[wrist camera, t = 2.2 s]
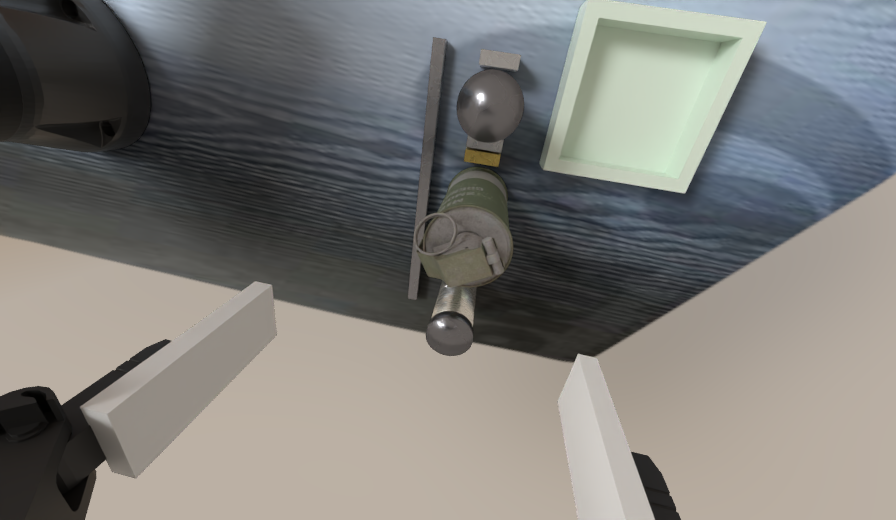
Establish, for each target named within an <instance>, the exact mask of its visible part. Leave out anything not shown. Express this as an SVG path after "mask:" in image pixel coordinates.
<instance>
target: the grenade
mask: <svg viewBox="0 0 896 520" xmlns="http://www.w3.org/2000/svg"><path fill="white" fill-rule="evenodd" d="M507 201H508V192H507V188H506V185H505V183H504V181H503V180H502V178H501V177H500V176H499V175H498V174H497V173H495V172H494V171H492V170H490V169H488V168H484V167H471V168H467V169H465V170H463V171H461V172H459V173H458V174H457V175H456V176H455V177H454V178H453V179H452V181H451V182H450V184H449V187H448V190H447V194H446V196H445V198H444V200H443V202H442V204H441V206H440V208H439V210H438V212H437V213H433V214H430V215H428V216H426V217H425V218H424V219H422V220H421V221H420V223H419V224H418V225H417V227H416V229H415V233H414V243H415V246H416V248H417V254H418V256H419V258H420V260H421V263H422V265H423V267H424V269H425V271H426V273H427V275H428V276H429V277H433V278H438V279H442V280H443V281H444V282H445V283H446V284H447V286H448V287H455V286H460V287H479V286H483V285H486V284H489V283H491V282H493V281H494V280H496V279H497V278H498V277H500V276H501V275H502V274H503V273H504V271H505V270H506V269H507V267H508V266H509V264H510V262H511V259H512V255H513V239H512V235H511V232H510V230H509V219H508V209H507ZM431 218H433V219H432V220H431V222H430V223H429V225H428V226H427V228H426V231H425V234H424V236H423V238H422V240H421V242H420V244H419V246H418V240H417V238H418V233H419V230H420V228H421V227H422V225H423V224H424V223H425V222H426V221H428V220H429V219H431Z"/></svg>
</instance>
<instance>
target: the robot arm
mask: <svg viewBox="0 0 896 520" xmlns="http://www.w3.org/2000/svg"><path fill="white" fill-rule="evenodd" d="M150 106H151V101H150V90H149V84H148V80H147V76H146V72H145V69H144V66H143V64H142V61H141V59H140V56H139V54H138V52H137V50H136V48H135V46H134V44H133V42H132V40H131V39H130V37H129V35H128V34H127V32H126V31H125V29H124V28H123V26H122V25H121V23H120V22H119V21H118V19H117V18H116V17H115V15H114V14H113V13H112V12H111V11H110V10H109V8H108V7H107V6H106V5H105V4H104V3H103V2H102V1H101V0H0V142H4V141H9V142H16V143H23V144H30V145H37V146H44V147H51V148H59V149H66V150H73V151H80V152H100V151H107V150H114V149H120V148H124V147H127V146H129V145H131V144H133V143H134V142H135V141H137V140H138V139H139V138H140V136H141V135H142V134H143V132H144V130H145V128H146V126H147V123H148V120H149V116H150ZM276 335H277V331H276V322H275V310H274V300H273V290H272V285H270V284H265V283H261V282H256V281H255V282H254V283H252V284H251V285H250V286H248V287H247V288H245V289H244V290H243V291H241V292H240V293H238V294H237V295H236V296H234V297H233V298H231V299H230V300H229V301H227V302H226V303H224V304H223V305H222V306H220V307H219V308H217V309H216V310H215V311H213V312H212V313H210V314H209V315H208V316H206V317H205V318H203V319H202V320H201V321H199V322H198V323H197V324H195V325H194V326H192V327H191V328H190V329H188V330H187V331H185V332H184V333H183V334H181V335H180V336H179V337H177V338H175V339H174V340H173V341H170V340H166V339H165V340H163V341H160V342H158V343H156V344H153V345H151V346H149V347H146V348H145V349H143V350H142V351H140V352H139V353H138V354H136V355H135V356H133V357H132V358H130V360H129V361H126V362H124V363H123V364H121V365H120V366H118V367H117V368H116V370H115V371H114V370H113V371H111V372H110V373H108V374H107V375H105V376H104V377H102V378H101V379H99V380H98V381H96V382H95V383H93V384H92V385H91V386H89V387H88V388H86V389H85V390H83V391H82V392H80V393H79V394H77V395H76V396H75V397H73V398H72V399H70V400H69V401H67V402H66V403H64V404H63V405H60V403H59V401H58V399H57V397H56V395H55V393H54V392H53V391H52V390H51V389H50V388H47V387H41V386H37V387H28V388H23V389H20V390H16V391H12V392H9V393H7V394H5V395H2V396H0V520H85V517H86V513H87V510H88V506H89V503H90V499H91V495H92V492H93V488H94V484H95V481H96V470H95V469H96V468H97V467H98V466H99V465H100V464H101V463H102V462H104V461H105V460H106V461H107V463H108V465H109V467H110V469H111V471H112V472H114V473H118V474H121V475H125V476H128V477H132V478H137V477H138V476H139V475H140V474H141V473H142V472H143V471H144V470H145V469H146V468H147V467H148V466H149V465H150V464H151V463H152V462H153V461H154V460H155V458H157V457H158V456H159V455H160V454H161V453H162V452H163V450H164V449H166V447H167V446H168V445H169V444H170V443H171V442H172V441H173V440H174V439H175V438H176V437H177V436H178V435H179V434H180V433H181V432H182V431H183V430H184V429H185V428H186V427H187V426H188V425H189V424H190V423H191V422H192V421H193V420H194V419H195V418H196V417H197V416H198V415H199V414H200V413H201V412H202V411H203V410H204V409H205V408H206V407H207V406H208V405H209V404H210V403H211V401H213V399H215V398H216V396H218V394H219V393H220V392H221V391H222V390H223V389H224V388H225V387H226V386H227V385H228V384H229V383H230V382H231V381H232V380H233V379H234V378H235V377H236V376H237V375H238V374H239V373H240V372H241V371H242V370H243V369H244V368H245V367H246V366H247V365H248V364H249V363H250V362H251V361H252V360H253V359H254V358H255V357H256V356H257V355H258V354H259V353H260V351H262V350H263V349H264V348H265V347H266V346H267V345H268V344H269V343H270V342H271V341H272V339H274V338H275V336H276ZM558 407H559V413H560V418H561V424H562V430H563V436H564V441H565V448H566V453H567V459H568V464H569V470H570V476H571V482H572V488H573V493H574V500H575V505H576V511H577V517H578V520H681V519H680V516H679V514H678V513H677V512H676V507H675V504H674V502H673V499H672V497H671V496H670V495H669V493H670V492H669V490H668V488H667V485H666V483H665V480H664V478H663V476H662V474H661V472H660V471H659V470H658V468H657V467H656V466H655V464H654V463H653V462H652V460H651V459H650V458H649V456H647V455H643V454H638V453H634V452H631V451H630V449H629V446H628V443H627V440H626V437H625V434H624V432H623V429H622V426H621V423H620V421H619V418H618V415H617V412H616V409H615V406H614V404H613V401H612V398H611V396H610V393H609V390H608V387H607V384H606V381H605V379H604V376H603V373H602V370H601V368H600V365H599V362H598V359H597V358H594V357H590V356H585V355H581V354H578V355H577V357H576V360H575V362H574V364H573V367H572V369H571V371H570V374H569V376H568V378H567V381H566V383H565V385H564V387H563V390H562V392H561V395H560V397H559V399H558Z"/></svg>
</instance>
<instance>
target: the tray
mask: <svg viewBox="0 0 896 520" xmlns="http://www.w3.org/2000/svg"><path fill="white" fill-rule="evenodd" d="M766 23H767V22H764V21H756V20H749V19H742V18H734V17H727V16H720V15H712V14H705V13H698V12H690V11H683V10H676V9H668V8H661V7H654V6H646V5H639V4H632V3H624V2H617V1H610V0H586V1H585V3H584V4H583V5H582V6H581V7H580V8H579V11H578V15H577V19H576V23H575V27H574V30H573V34H572V38H571V42H570V46H569V50H568V54H567V57H566V61H565V65H564V69H563V73H562V77H561V81H560V85H559V88H558V92H557V96H556V100H555V104H554V108H553V112H552V116H551V119H550V123H549V127H548V131H547V135H546V139H545V143H544V147H543V150H542V154H541V158H540V162H539V164H540V166H541V167H542V169H543V170H546V171H552V172H558V173H564V174H570V175H576V176H582V177H588V178H594V179H601V180H607V181H613V182H619V183H625V184H631V185H637V186H643V187H649V188H655V189H661V190H667V191H673V192H679V193H686V190H687V188H688V186H689V184H690V182H691V180H692V178H693V176H694V174H695V172H696V169H697V167H698V165H699V163H700V161H701V159H702V157H703V155H704V153H705V151H706V149H707V146H708V144H709V142H710V140H711V138H712V136H713V134H714V132H715V130H716V128H717V125H718V123H719V121H720V119H721V117H722V115H723V113H724V111H725V109H726V107H727V104H728V102H729V100H730V98H731V96H732V94H733V92H734V90H735V88H736V86H737V84H738V81H739V79H740V77H741V75H742V73H743V71H744V69H745V67H746V65H747V63H748V60H749V58H750V56H751V54H752V52H753V50H754V48H755V46H756V44H757V42H758V39H759V37H760V35H761V33H762V31H763V29H764V27H765V25H766Z"/></svg>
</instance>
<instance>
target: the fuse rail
mask: <svg viewBox="0 0 896 520" xmlns="http://www.w3.org/2000/svg"><path fill="white" fill-rule="evenodd" d="M446 47H447V40H446V39H441V38H434V37H433V44H432V54H431V65H430V75H429V85H428V96H427V106H426V116H425V126H424V137H423V147H422V157H421V168H420V178H419V188H418V198H417V209H416V219H415V229H416V227H417V225H418V224H419V223H420V221H421V220H422V219H424V218H425V217H426V216H427V214H428V205H429V196H430V188H431V179H432V170H433V161H434V153H435V144H436V135H437V126H438V118H439V109H440V100H441V91H442V82H443V74H444V65H445V56H446ZM520 57H521V55H518V54H511V53H504V52H498V51H491V50H484V49H481V54H480V61H479V65H480V67H485V68H492V69H491V70H484V71H481V72H479V73H477V74H475V75H473V76H472V77H471V78H470V79H469V80H468V81H467V82H466V83H465V84H464V86H463V87H462V89H461V91H460V93H459V97H458V101H457V115H458V119H459V122H460V125H461V126H462V128H463V130H464V131H465V132H466V133H467V134H468V138H467V144H466V147H467V148H466V151H465V157H464V161H465V162H471V163H477V164H483V165H489V166H495V167H498V166H499V161H500V156H501V151H502V146H503V141H504V139H505V138H506V137H508V136H509V135H510V134H511V133H512V132H513V131H514V130H515V129H516V128H517V126H518V124H519V123H520V121H521V118H522V115H523V110H524V98H523V94H522V91H521V88H520V86H519V85H518V83H517V82H516V80H515V79H514V78H513V77H511V76H510V75H509V74H507V73H505V72H503V71H500V70H505V71H512V72H517V71H518V67H519V62H520ZM493 69H498V70H493ZM426 223H427V221H426V222H425V223H424V224H423V225H422V227H421V228H420V230H419V233H418V238H417V240H418V246H419V244H420V242H421V240H422V238H423V236H424V234H425V231H426ZM415 229H414V233H415ZM421 267H422V263H421V260H420V258H419V256H418V254H417V248H416V246H415V243H414V240H413V250H412V260H411V270H410V281H409V291H408V298H409V299H414V300H417V297H418V293H419V284H420V275H421ZM476 290H477V287H460V286H455V287H448V286H447V284H446V283H445V282H444V281H443V280H442V283H441V287H440V290H439V294H438V297H437V301H436V304H435V308H434V311H433V314H432V318H431V319H430V321H429V324H428V327H427V331H426V340H427V342H428V344H429V345H430V347H431V348H432V349H433V350H435V351H436V352H438V353H440V354H443V355H447V356H456V355H460V354H463V353H464V352H466V351H467V350H468V349H469V348H470V347H471V345H472V341H473V319H474V309H475V300H476Z"/></svg>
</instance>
